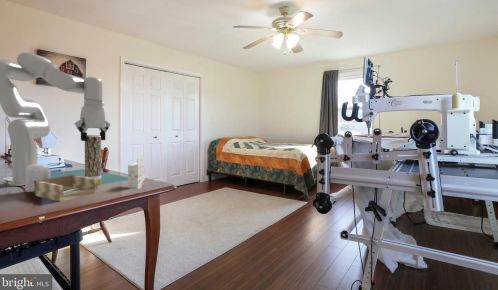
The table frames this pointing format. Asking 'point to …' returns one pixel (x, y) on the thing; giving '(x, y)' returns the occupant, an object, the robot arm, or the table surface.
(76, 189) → the sage offcut
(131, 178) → the ink cartridge box
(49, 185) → the tan open tray
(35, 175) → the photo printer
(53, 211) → the table surface
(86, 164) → the bark covered post
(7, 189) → the table surface
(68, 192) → the grey MDF offcut
